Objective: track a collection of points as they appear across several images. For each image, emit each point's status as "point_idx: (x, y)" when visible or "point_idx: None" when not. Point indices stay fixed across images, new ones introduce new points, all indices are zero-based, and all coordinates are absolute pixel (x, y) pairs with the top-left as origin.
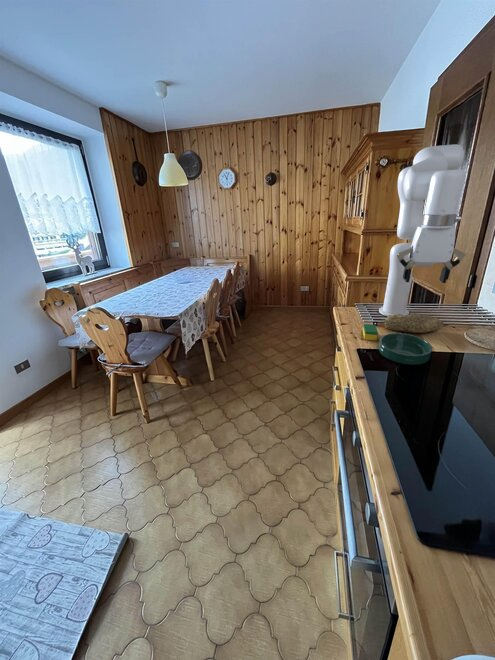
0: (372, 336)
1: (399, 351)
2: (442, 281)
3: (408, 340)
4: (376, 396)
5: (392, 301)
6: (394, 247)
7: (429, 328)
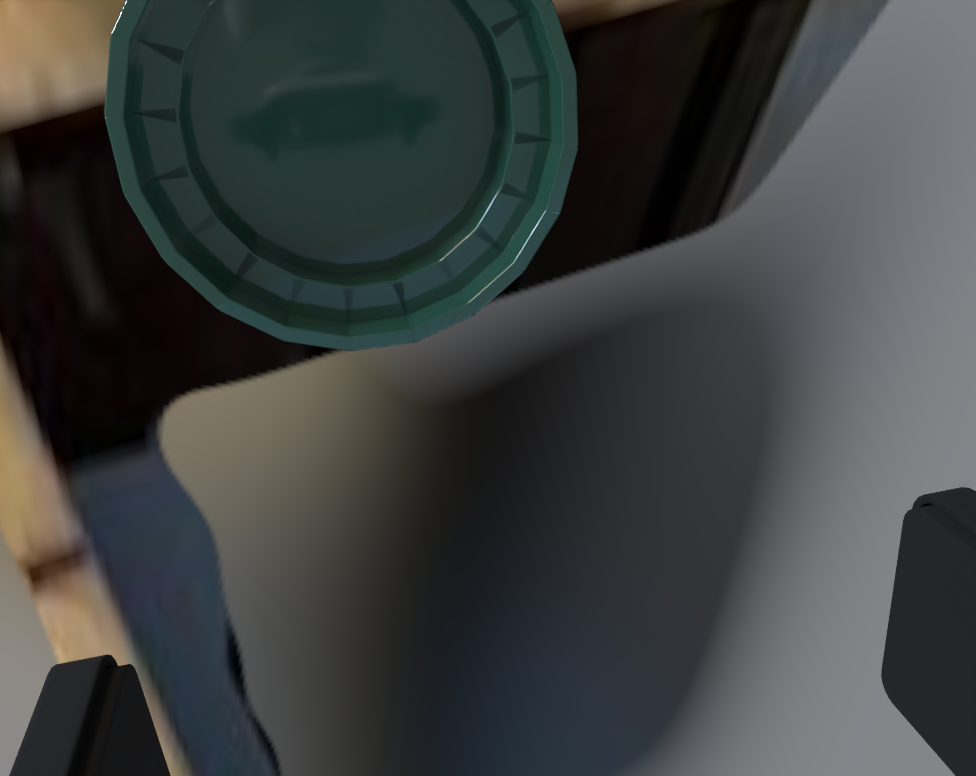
0: None
1: (317, 120)
2: (899, 684)
3: None
4: (184, 690)
5: None
6: None
7: None
